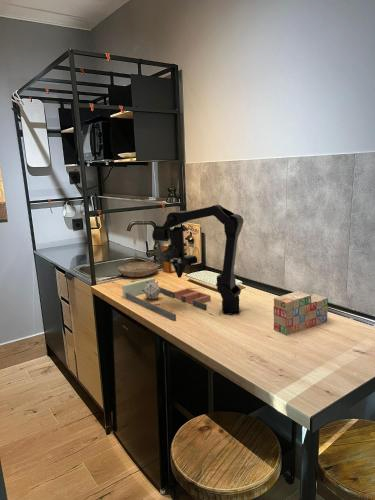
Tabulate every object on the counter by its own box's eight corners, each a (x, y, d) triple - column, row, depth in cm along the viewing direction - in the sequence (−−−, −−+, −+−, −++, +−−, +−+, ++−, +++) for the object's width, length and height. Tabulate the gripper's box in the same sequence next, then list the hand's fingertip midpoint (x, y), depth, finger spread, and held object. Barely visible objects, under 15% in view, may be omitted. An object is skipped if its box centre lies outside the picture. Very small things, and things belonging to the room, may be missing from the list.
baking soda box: (176, 268, 223) (174, 242, 220) (183, 270, 218) (181, 243, 215) (163, 271, 217) (161, 244, 214) (170, 273, 212) (168, 246, 209)
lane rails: (206, 310, 154) (206, 304, 154) (174, 321, 144) (174, 315, 144) (155, 290, 183) (155, 285, 183) (125, 298, 173) (125, 293, 172)
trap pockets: (210, 300, 165) (210, 295, 165) (195, 305, 160) (195, 300, 159) (188, 292, 177) (188, 287, 177) (173, 297, 172) (173, 292, 171)
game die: (156, 305, 173) (167, 287, 174) (152, 305, 164) (164, 285, 165) (140, 295, 174) (151, 277, 175) (135, 294, 166) (147, 275, 167)
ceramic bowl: (167, 273, 213) (167, 265, 212) (133, 282, 198) (133, 273, 197) (143, 267, 230) (142, 259, 229) (110, 275, 214) (109, 266, 213)
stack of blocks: (314, 316, 144) (315, 285, 142) (327, 321, 139) (328, 290, 136) (273, 329, 133) (273, 297, 131) (286, 336, 128) (286, 302, 126)
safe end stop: (155, 290, 183) (155, 278, 182) (125, 298, 173) (124, 286, 172) (152, 289, 185) (152, 277, 184) (123, 297, 175) (122, 284, 173)
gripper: (148, 242, 158) (151, 277, 161) (175, 247, 144) (178, 285, 147) (169, 238, 165) (172, 272, 168) (197, 242, 151) (199, 279, 154)
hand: (179, 277), depth 159 cm, fingers closed
